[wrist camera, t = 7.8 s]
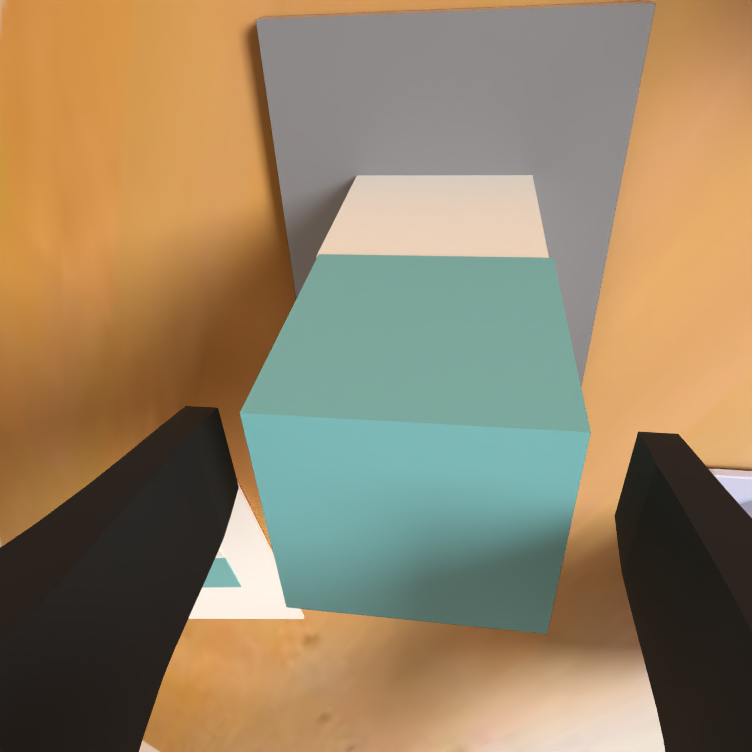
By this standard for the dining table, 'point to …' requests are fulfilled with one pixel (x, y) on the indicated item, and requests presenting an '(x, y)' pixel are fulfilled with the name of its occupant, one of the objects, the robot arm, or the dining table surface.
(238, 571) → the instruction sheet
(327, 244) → the cream brick
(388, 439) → the teal brick
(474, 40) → the plate
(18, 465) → the dining table surface
